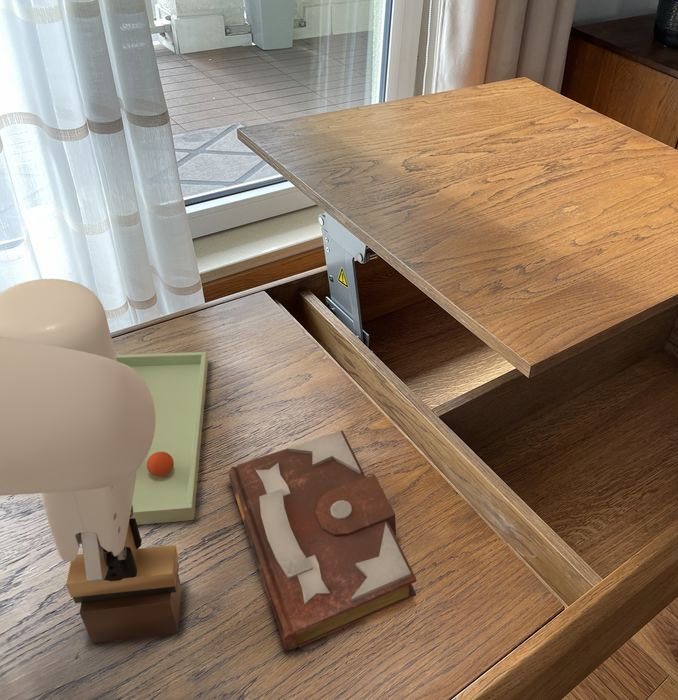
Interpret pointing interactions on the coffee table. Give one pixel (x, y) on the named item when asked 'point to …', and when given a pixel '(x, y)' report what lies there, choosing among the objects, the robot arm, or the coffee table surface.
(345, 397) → the coffee table surface
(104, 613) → the stand
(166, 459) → the orange-red sphere
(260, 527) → the book
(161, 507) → the tray
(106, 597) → the wooden block
